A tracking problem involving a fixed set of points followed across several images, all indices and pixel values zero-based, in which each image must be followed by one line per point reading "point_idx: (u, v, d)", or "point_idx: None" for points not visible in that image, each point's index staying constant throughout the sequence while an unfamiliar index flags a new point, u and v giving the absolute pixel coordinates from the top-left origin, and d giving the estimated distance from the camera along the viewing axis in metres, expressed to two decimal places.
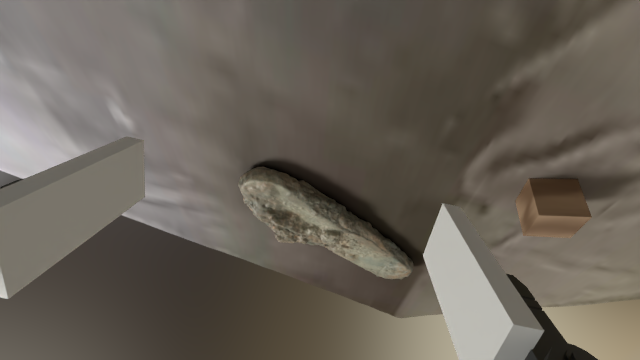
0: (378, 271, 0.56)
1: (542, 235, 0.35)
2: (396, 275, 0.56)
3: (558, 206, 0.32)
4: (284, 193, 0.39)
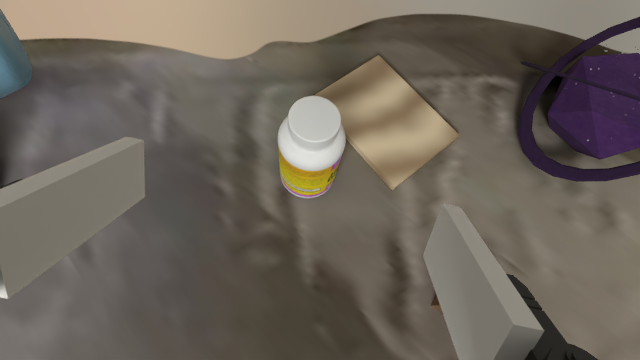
0: None
1: None
2: None
3: None
4: None
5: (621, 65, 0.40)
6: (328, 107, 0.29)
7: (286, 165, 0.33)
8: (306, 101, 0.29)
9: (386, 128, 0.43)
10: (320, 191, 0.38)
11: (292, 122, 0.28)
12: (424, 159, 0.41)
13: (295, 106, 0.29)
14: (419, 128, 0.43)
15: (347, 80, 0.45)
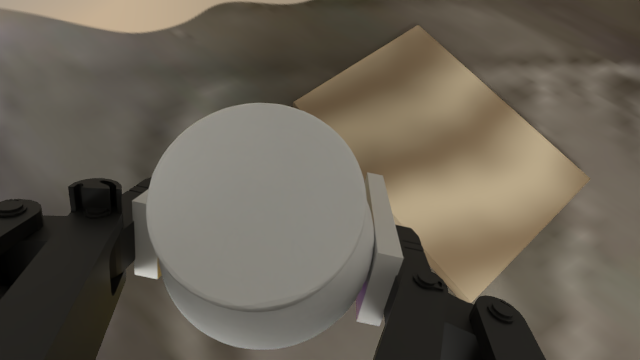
0: None
1: None
2: None
3: None
4: None
5: None
6: (316, 147, 0.08)
7: None
8: (231, 124, 0.08)
9: (443, 166, 0.21)
10: None
11: (159, 216, 0.07)
12: (527, 233, 0.20)
13: (184, 145, 0.07)
14: (509, 165, 0.21)
15: (362, 71, 0.23)
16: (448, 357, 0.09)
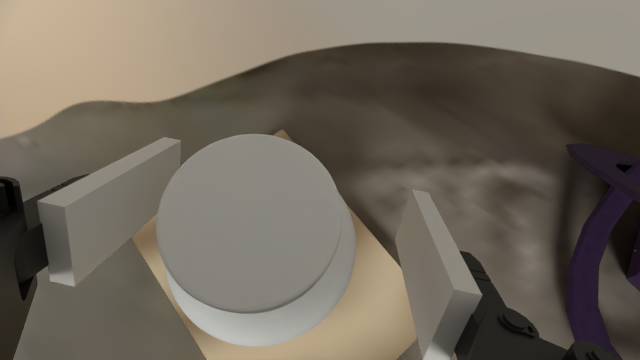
0: None
1: None
2: None
3: None
4: None
5: None
6: (300, 173, 0.09)
7: None
8: (227, 153, 0.09)
9: None
10: None
11: (167, 233, 0.08)
12: None
13: (187, 172, 0.09)
14: (352, 300, 0.20)
15: None
16: None
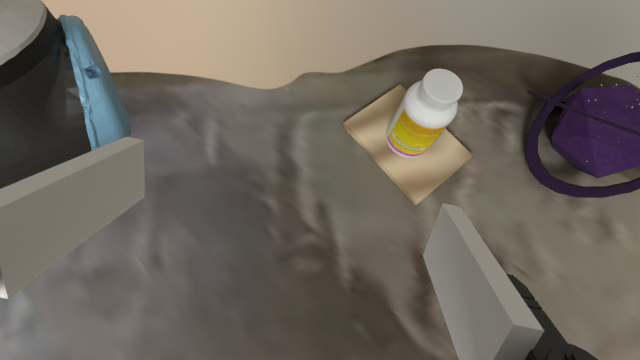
0: None
1: None
2: None
3: None
4: None
5: (615, 95, 0.46)
6: (452, 77, 0.38)
7: (408, 125, 0.41)
8: (435, 72, 0.38)
9: None
10: (423, 151, 0.46)
11: (427, 87, 0.37)
12: (443, 178, 0.47)
13: (427, 76, 0.38)
14: (438, 150, 0.49)
15: (373, 107, 0.51)
16: None
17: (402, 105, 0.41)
